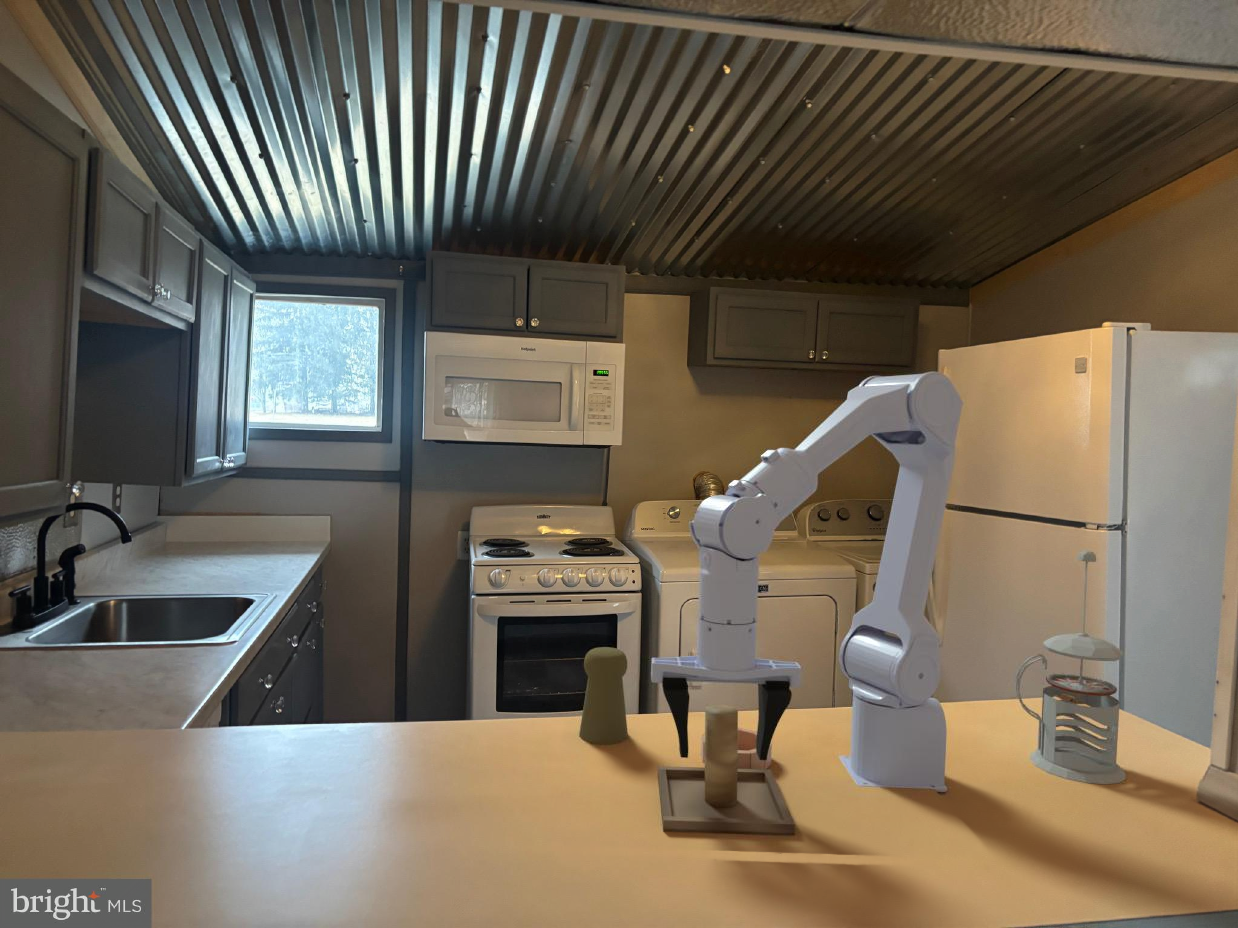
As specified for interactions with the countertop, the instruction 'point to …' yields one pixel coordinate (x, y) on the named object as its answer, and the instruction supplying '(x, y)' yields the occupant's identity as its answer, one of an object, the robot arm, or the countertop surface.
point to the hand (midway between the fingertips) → (722, 754)
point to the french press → (1078, 710)
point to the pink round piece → (745, 751)
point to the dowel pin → (721, 755)
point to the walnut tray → (750, 815)
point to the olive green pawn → (604, 697)
